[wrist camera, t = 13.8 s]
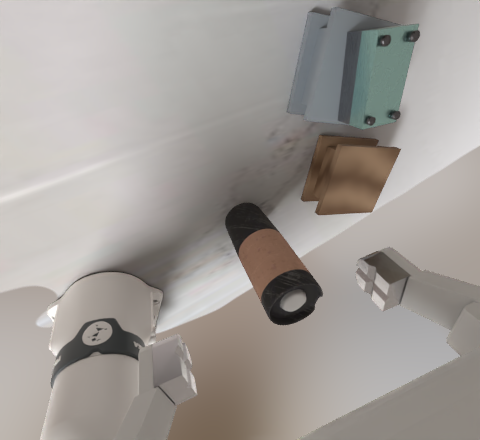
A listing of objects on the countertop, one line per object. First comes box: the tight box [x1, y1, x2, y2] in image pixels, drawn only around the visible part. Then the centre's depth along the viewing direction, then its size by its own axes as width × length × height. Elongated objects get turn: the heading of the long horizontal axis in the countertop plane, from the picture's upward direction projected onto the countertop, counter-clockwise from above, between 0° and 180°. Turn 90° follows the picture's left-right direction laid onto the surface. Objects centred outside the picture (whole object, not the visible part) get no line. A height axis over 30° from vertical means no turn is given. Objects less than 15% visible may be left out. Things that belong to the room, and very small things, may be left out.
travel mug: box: [225, 203, 323, 325], centre depth 40 cm, size 8×8×20 cm
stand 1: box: [287, 7, 400, 125], centre depth 36 cm, size 12×12×6 cm
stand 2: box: [301, 135, 401, 215], centre depth 46 cm, size 12×12×6 cm
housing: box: [338, 24, 420, 130], centre depth 31 cm, size 10×5×6 cm, turn 6°
